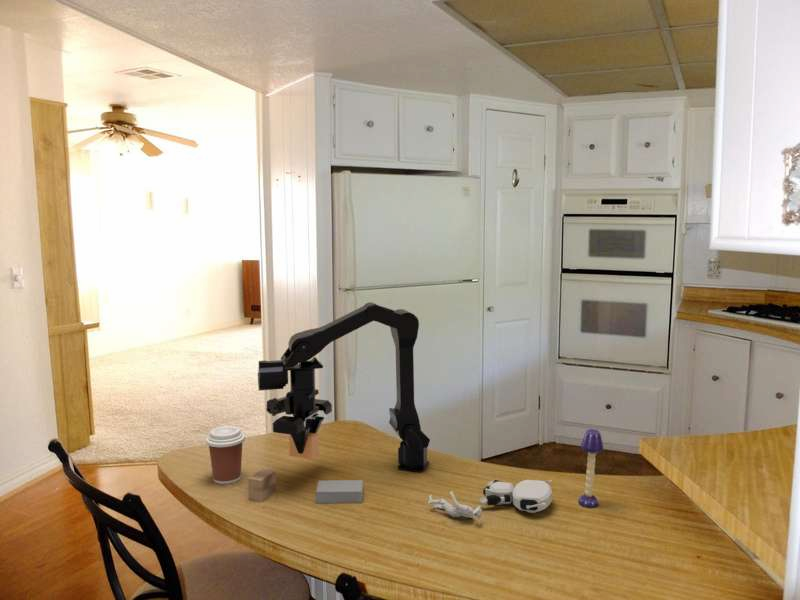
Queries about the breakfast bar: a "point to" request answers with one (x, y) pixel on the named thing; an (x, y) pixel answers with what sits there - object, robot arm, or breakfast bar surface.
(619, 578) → the breakfast bar surface
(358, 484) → the grey brick
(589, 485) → the toy lamp
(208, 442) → the coffee cup
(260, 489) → the walnut brick
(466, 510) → the white plastic figure
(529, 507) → the robot toy
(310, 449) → the orange brick
